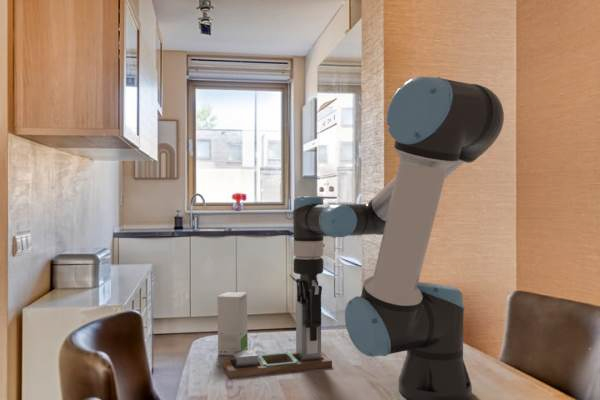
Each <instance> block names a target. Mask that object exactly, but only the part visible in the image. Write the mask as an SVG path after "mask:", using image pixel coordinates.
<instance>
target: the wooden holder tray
mask: <svg viewBox="0 0 600 400" xmlns="http://www.w3.org/2000/svg"><path fill="white" fill-rule="evenodd" d="M285 361H286V362H285ZM277 362H278V363H277ZM222 363H223V364H222V365H223V367H224V369H225V372H226V374H227V375H228V378H229V379H231V378H239V377H247V376H257V375H258V376H260V375H265V374H269V375H270V374H278V373H284V372H286V373H288V372H295V371H296V372H298V371H305V370H307V371H308V370H314V369H315V370H316V369H326V368H333V360H332V359H331V358H329V356H327V354H325V353H323V352H322V351H321V360H318V361H307V362H299V361H298V360H297V359H296V351H294V352H293V351H292V352H288V351H286V352H276V353H275V352H274V353H265V354H264V353H263V354H258V366H257V367H247V368H236V369H234V357H229V358H223V361H222Z"/></svg>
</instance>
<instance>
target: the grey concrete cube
mask: <svg viewBox="0 0 600 400" xmlns="http://www.w3.org/2000/svg"><path fill="white" fill-rule="evenodd" d="M258 356H259V354H257V352H256V351H255V349H246V350H243V351H234V356H233V358H234V366H233V367H234V369H236V368H247V367H257V366H258Z"/></svg>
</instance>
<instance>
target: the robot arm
mask: <svg viewBox="0 0 600 400" xmlns="http://www.w3.org/2000/svg"><path fill="white" fill-rule="evenodd" d="M390 100H391V101H390V103H389V105H388V109H387V114H386V125H388V126H389V127H388V128H387V129H388V132H389V134H390V137H391V138H392V139H394V146H393V150H394V152H395V153H396V154H397V155H398V157H399V162H398V166H397V171H396V176H395V177H393V179H391V180H390V182H389V183H387V184H386V185H385V186H384V187H383V188H382V189H381V190H380V191H379V192H378V193H377V194H376V195H375V196H374V197H373V198H372V199H371V200H370V201H369V202H368V203H353V204H352V203H349V204H348V203H346V204H344V203H330V204H328V203H325V204H324V198H323V197H322V196H317V195H315V196H314V195H313V196H306V195H305V196H296V197H295V198H294V200H293V210H292V213H293V214H292V215H293V217H292V218H293V219H292V221H293V228H292V229H293V242H292V244H293V245H292V246H293V247H292V248H293V249H292V251H293V252H292V253H293V254H292V255H293V256H294V258H293V273H294V274H297V275H300V276H299V278H296V279H295V282H296V302H306V305H307V320H308V325H305V328H306V353H307V354H313V353H318V327H319V326H321V327H322V291H323V287H322V286H323V285H319V281H318V275H321V274H322V273H324V258H322V257H323V256H324V248H325V246H326V245H325V243H324V236H327V237H331V238H346V237H348V236H349V237H350V236H365V235H372V236H373V235H377V236H381V241H380V246H379V251H378V254H377V259H376V262H375V263H376V264H375V268H374V272H373V275H372V276H369V277H367V278H366V279H365V280H364V282H363V287H362V289H361V291H362V292H361V295H360V296H355V297H353V298H351V299H350V300H349V301H348V302H347V303H346V307H345V310H344V319H345V320H344V322H345V328H346V332H347V333H348V337H349V339H350V340H351V342H352V344H353V346H354V347H355V348H356V349H357V351H359V353H361V354H363V355H365V356H366V357H372V358H375V357H386V356H389V355H391V354H392V355H393V354H397V353H401V352H406V356H405V359H404V361H403V364H402V368H401V372H400V374H399V376H398V392H399V393H400V394H401V395H402V396H404V397H405V398H407V399H408V400H471V399H472V396H473V392H472V391H473V390H472V389H473V387H472V386H473V385H472V382H471V379H470V376H469V373H468V370H467V366H466V364H465V361H464V310H465V306H464V296H463V292H462V291H461V290H460V289H459V288H456V287H454V286H449V285H443V284H437V283H430V282H429V283H428V282H421V281H420V277H421V273H422V270H423V265H424V262H425V259H426V254H427V250H428V246H429V241H430V238H431V233H432V230H433V226H434V221H435V218H436V213H437V211H438V206H439V203H440V199H441V194H442V190H443V187H444V183H445V179H447V177H449V176H450V175H451V174H452V173H454V171H456V170H458V168H459V167H460V166H461V165H463V164H464V163H466V164H468V163H469V164H470V163H472V162H474V161H477V159H478V158H479V157H481V156H482V155H483V154H484V153H485V152H486V151H488V149H490V147H491V146H492V145H494V143H495V142H496V140H497V139H498V137H499V135H500V134H501V133H502V132H501V131H502V130H503V129H502V128H503V125H504V121H505V118H504V117H505V112H504V108H503V105H502V102H501V100H500V98H499V97H498V96H497V94H496V93H495V92H494V91H493V90H491V89H490V88H488V87H486V86H484V85H480V84H478V83H477V84H475V83H470V82H469V83H468V82H463V81H462V82H461V81H456V80H451V79H448V78H443V77H442V78H441V77H440V76H437V77H433V76H417V77H413V78H411V79H409V80H408V81H406V82H405V83H404V85H403V84H402V85H401V86H399V88H397V90H396V92H395V93H394V95H393V96H392V98H391V99H390Z"/></svg>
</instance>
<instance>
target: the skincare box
mask: <svg viewBox="0 0 600 400" xmlns="http://www.w3.org/2000/svg"><path fill="white" fill-rule="evenodd" d="M216 300H217V355H219V356H228V357H229V356H232V357H234V351H243V350H248V346H249V345H248V342H249V341H248V340H249V339H248V292H246V291H239V292H238V291H236V292H235V291H233V292H232V291H226V292H223V293H221V294H219V295H217V299H216Z"/></svg>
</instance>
